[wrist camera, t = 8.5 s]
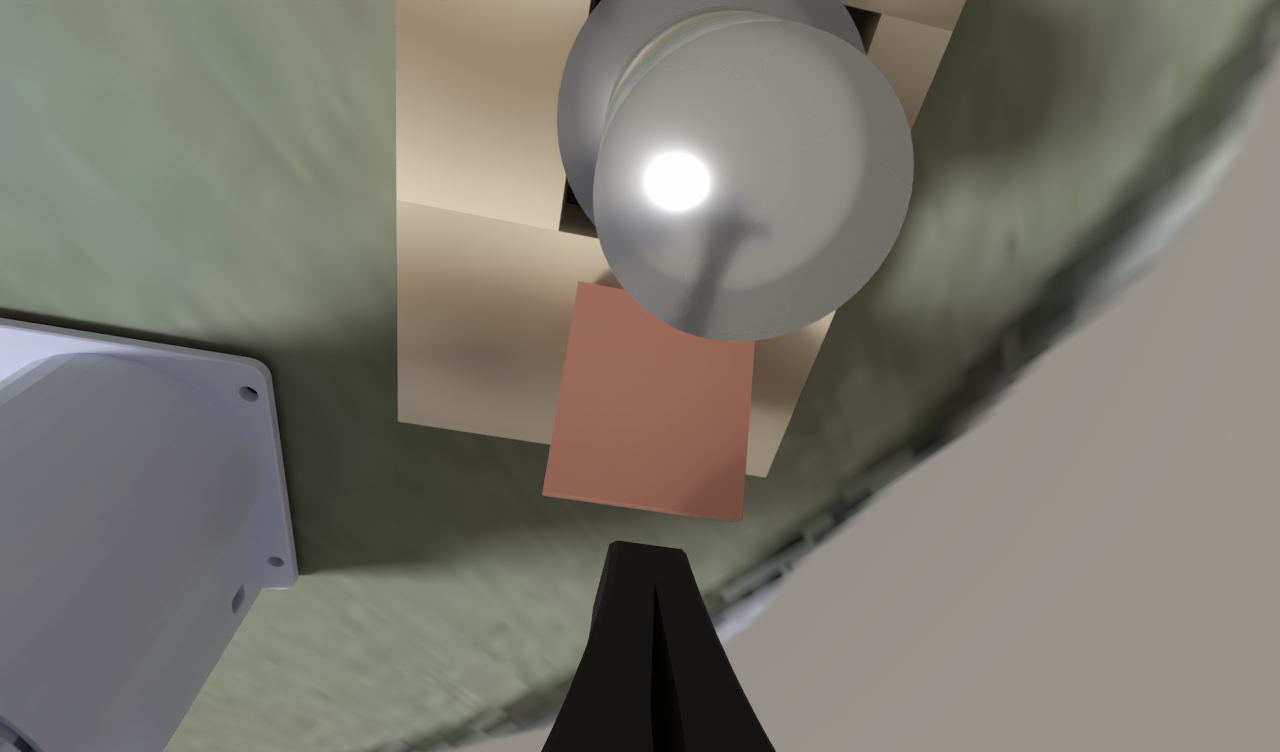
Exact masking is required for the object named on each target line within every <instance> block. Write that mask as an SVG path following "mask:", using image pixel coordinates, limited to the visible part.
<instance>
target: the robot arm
mask: <svg viewBox="0 0 1280 752" xmlns="http://www.w3.org/2000/svg"><path fill="white" fill-rule="evenodd" d="M247 387H250V388H253V389H254V390H255V391H256V392H257V394H255V393H252V392H251V391H250V390H248V388H247ZM297 579H298V567H297V560H296V553H295V545H294V538H293V530H292V523H291V516H290V508H289V501H288V494H287V486H286V479H285V472H284V464H283V457H282V450H281V442H280V435H279V428H278V420H277V413H276V406H275V398H274V391H273V384H272V376H271V373H270V371H269V369H268V368H267V367H266V366H265V364H263V363H262V362H260V361H259V360H256V359H253V358H249V357H243V356H237V355H230V354H224V353H218V352H212V351H205V350H199V349H193V348H186V347H180V346H174V345H168V344H161V343H155V342H149V341H143V340H136V339H130V338H124V337H118V336H111V335H105V334H99V333H93V332H86V331H80V330H74V329H67V328H61V327H55V326H49V325H42V324H36V323H30V322H24V321H17V320H11V319H5V318H0V752H162V751H163V750H164V749H165V747H166V745H167V744H168V742H169V741H170V739H171V738H172V736H173V734H174V733H175V731H176V729H177V728H178V726H179V724H180V723H181V721H182V719H183V718H184V716H185V714H186V713H187V711H188V710H189V708H190V706H191V705H192V703H193V701H194V700H195V698H196V696H197V695H198V693H199V691H200V690H201V688H202V687H203V685H204V683H205V682H206V680H207V678H208V677H209V675H210V673H211V672H212V670H213V668H214V667H215V665H216V663H217V662H218V660H219V659H220V657H221V655H222V654H223V652H224V650H225V649H226V647H227V645H228V644H229V642H230V640H231V639H232V637H233V636H234V634H235V632H236V631H237V629H238V627H239V626H240V624H241V622H242V621H243V619H244V617H245V616H246V614H247V612H248V611H249V609H250V608H251V606H252V604H253V603H254V601H255V599H256V598H257V596H258V594H259V593H260V591H261V589H262V588H263V587H264V588H272V589H289V588H291V587H292V586H294V584H295V582H296V581H297ZM541 752H776V751H775V749H774V747H773V746H772V744H771V742H770V741H769V739H768V737H767V735H766V733H765V731H764V730H763V728H762V726H761V724H760V722H759V720H758V719H757V717H756V715H755V713H754V711H753V709H752V707H751V705H750V703H749V701H748V699H747V697H746V695H745V693H744V692H743V690H742V687H741V685H740V683H739V681H738V679H737V677H736V675H735V673H734V671H733V669H732V667H731V665H730V662H729V661H728V658H727V656H726V654H725V651H724V649H723V647H722V645H721V643H720V640H719V638H718V636H717V634H716V631H715V629H714V627H713V624H712V622H711V620H710V617H709V615H708V612H707V610H706V607H705V605H704V602H703V600H702V597H701V595H700V592H699V589H698V587H697V584H696V581H695V579H694V576H693V573H692V570H691V567H690V564H689V561H688V558H687V555H686V553H685V552H684V551H683V550H682V549H675V548H668V547H661V546H653V545H646V544H639V543H631V542H624V541H615V542H613V543H611V544H609V548H608V552H607V556H606V560H605V564H604V568H603V571H602V575H601V579H600V583H599V587H598V591H597V595H596V598H595V602H594V606H593V614H592V621H591V628H590V634H589V640H588V643H587V646H586V649H585V652H584V654H583V657H582V659H581V662H580V664H579V667H578V669H577V672H576V674H575V677H574V679H573V682H572V684H571V687H570V689H569V692H568V694H567V696H566V699H565V701H564V703H563V706H562V708H561V710H560V712H559V715H558V717H557V719H556V721H555V724H554V726H553V728H552V730H551V732H550V734H549V736H548V738H547V741H546V743H545V745H544V747H543V749H542V751H541Z"/></svg>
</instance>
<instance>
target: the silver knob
mask: <svg viewBox="0 0 1280 752" xmlns="http://www.w3.org/2000/svg"><path fill="white" fill-rule="evenodd" d="M557 133H558V144H559V149H560V154H561V160H562V164H563V167H564V170H565V173H566V176H567V179H568V182H569V185H570V187H571V189H572V191H573V193H574V195H575V197H576V199H577V201H578V203H579V204H580V206H581V207H582V209H583V211H584V212H585V214H586V215H587V217H588V218H589V219H590V220H591V222H592V223H593V224H594V225H595V226H596V230H597V235H598V238H599V241H600V245H601V248H602V251H603V254H604V256H605V258H606V260H607V262H608V264H609V266H610V268H611V270H612V272H613V273H614V275H615V276H616V278H617V280H618V281H619V283H620V284H621V286H622V287H623V288H624V289H625V290H626V291H627V293H628V294H629V295H630V296H631V297H632V298H633V299H634V300H635V301H636V302H637V303H638V304H639V305H640V306H641V307H642V308H644V309H645V310H646V311H647V312H648V313H650V314H651V315H653V316H654V317H656V318H657V319H659V320H660V321H662V322H664V323H666V324H668V325H670V326H671V327H673V328H675V329H677V330H680V331H683V332H686V333H688V334H691V335H694V336H698V337H703V338H707V339H711V340H720V341H754V340H763V339H768V338H773V337H777V336H781V335H785V334H788V333H791V332H793V331H796V330H799V329H802V328H804V327H806V326H808V325H810V324H812V323H814V322H816V321H819V320H820V319H822V318H823V317H825V316H827V315H828V314H830V313H832V312H833V311H835V310H836V309H838V308H839V307H840V306H841V305H843V304H844V303H845V302H847V301H848V300H849V299H850V298H852V297H853V296H854V295H855V294H856V293H857V292H858V291H859V290H860V289H861V288H862V287H863V286H864V285H865V284H866V283H867V282H868V281H869V279H870V278H871V277H872V276H873V275H874V273H875V272H876V271H877V270H878V269H879V267H880V266H881V264H882V263H883V261H884V260H885V258H886V257H887V255H888V254H889V252H890V250H891V248H892V247H893V245H894V243H895V241H896V239H897V237H898V235H899V233H900V230H901V227H902V225H903V222H904V219H905V217H906V214H907V210H908V206H909V202H910V197H911V193H912V185H913V175H914V156H913V145H912V139H911V133H910V128H909V125H908V122H907V119H906V115H905V112H904V109H903V107H902V105H901V103H900V101H899V99H898V97H897V95H896V93H895V91H894V89H893V87H892V86H891V85H890V83H889V82H888V80H887V79H886V78H885V76H884V75H883V73H882V72H881V71H880V70H879V69H878V68H877V67H876V66H875V65H874V64H873V63H872V62H871V61H870V60H869V58H868V57H867V56H866V52H865V49H864V46H863V43H862V40H861V37H860V34H859V32H858V30H857V28H856V26H855V24H854V22H853V20H852V18H851V16H850V14H849V12H848V10H847V9H846V8H845V6H844V5H843V3H842V2H841V0H601V1H600V3H599V4H598V5H597V6H596V7H595V9H594V10H593V11H592V12H591V14H590V15H589V17H588V19H587V20H586V22H585V23H584V25H583V27H582V28H581V30H580V31H579V33H578V35H577V38H576V40H575V42H574V44H573V46H572V48H571V51H570V53H569V55H568V59H567V62H566V65H565V68H564V71H563V75H562V79H561V84H560V90H559V95H558V106H557Z"/></svg>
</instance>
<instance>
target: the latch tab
mask: <svg viewBox="0 0 1280 752" xmlns="http://www.w3.org/2000/svg"><path fill="white" fill-rule="evenodd" d="M754 346H755V340H754V341H720V340H711V339H707V338H703V337H698V336H694V335H691V334H688V333H686V332H683V331H680V330H677V329H675V328H673V327H671V326H670V325H668V324H666V323H664V322H662V321H660V320H659V319H657V318H656V317H654V316H653V315H651V314H650V313H648V312H647V311H646V310H645V309H644V308H642V307H641V306H640V305H639V304H638V303H637V302H636V301H635V300H634V299H633V298H632V297H631V296H630V295H629V294H628V293H627V291H626V290H624V289H618V288H613V287H607V286H602V285H597V284H591V283H586V282H580V281H578V286H577V292H576V298H575V304H574V310H573V315H572V321H571V327H570V333H569V339H568V345H567V351H566V357H565V363H564V368H563V374H562V380H561V386H560V392H559V398H558V404H557V410H556V415H555V421H554V427H553V433H552V439H551V445H550V451H549V457H548V463H547V468H546V474H545V480H544V486H543V492H542V496H549V497H556V498H564V499H571V500H578V501H585V502H592V503H599V504H606V505H613V506H620V507H627V508H634V509H641V510H648V511H655V512H662V513H669V514H676V515H683V516H690V517H697V518H704V519H711V520H718V521H725V522H734V521H739V520H742V518H743V503H744V489H745V475H746V461H747V446H748V432H749V418H750V404H751V389H752V375H753V361H754Z"/></svg>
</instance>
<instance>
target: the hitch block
mask: <svg viewBox="0 0 1280 752" xmlns="http://www.w3.org/2000/svg"><path fill="white" fill-rule="evenodd" d="M595 2H596V0H396V172H397V352H398V422H404V423H411V424H417V425H424V426H430V427H437V428H443V429H450V430H457V431H463V432H470V433H476V434H483V435H489V436H496V437H503V438H509V439H516V440H522V441H529V442H536V443H542V444H549V445H551V439H552V433H553V427H554V421H555V415H556V410H557V404H558V398H559V392H560V386H561V380H562V374H563V368H564V363H565V357H566V351H567V345H568V339H569V333H570V327H571V321H572V315H573V310H574V304H575V298H576V292H577V286H578V281H580V282H586V283H591V284H597V285H602V286H607V287H613V288H618V289H624V288H623V287H622V286H621V284H620V283H619V281H618V280H617V278H616V276H615V275H614V273H613V272H612V270H611V268H610V266H609V264H608V262H607V260H606V258H605V256H604V254H603V251H602V248H601V245H600V241H599V238H598V235H597V230H596V226H595V225H594V224H593V223H592V222H591V220H590V219H589V218H588V217H587V215H586V214H585V212H584V211H583V209H582V207H581V206H580V205H575V204H570V203H567V197H568V190H569V182H568V179H567V176H566V173H565V170H564V167H563V164H562V160H561V154H560V149H559V144H558V133H557V106H558V95H559V90H560V84H561V79H562V75H563V71H564V68H565V65H566V62H567V59H568V55H569V53H570V51H571V48H572V46H573V44H574V42H575V40H576V38H577V35H578V33H579V31H580V30H581V28H582V27H583V25H584V23H585V22H586V20H587V19H588V17H589V15H590V14H591V12H592V11H593V10H594V9H595ZM841 2H842V3H843V5H844V6H845V8H846V9H849V14H850V16H851V18H852V20H853V22H854V24H855V26H856V28H857V30H858V32H859V34H860V37H861V40H862V43H863V46H864V49H865V52H866V56H867V57H868V58H869V60H870V61H871V62H872V63H873V64H874V65H875V66H876V67H877V68H878V69H879V70H880V71H881V72H882V73H883V75H884V76H885V78H886V79H887V80H888V82H889V83H890V85H891V86H892V87H893V89H894V91H895V93H896V95H897V97H898V99H899V101H900V103H901V105H902V107H903V109H904V112H905V115H906V119H907V122H908V125H909V128H910V133H911V130H912V128H913V126H914V123H915V121H916V119H917V116H918V114H919V111H920V109H921V107H922V104H923V102H924V99H925V97H926V95H927V92H928V90H929V88H930V85H931V83H932V80H933V78H934V76H935V73H936V71H937V68H938V66H939V64H940V61H941V59H942V57H943V54H944V52H945V49H946V47H947V45H948V42H949V40H950V37H951V35H952V33H953V30H954V28H955V26H956V23H957V21H958V18H959V16H960V14H961V11H962V9H963V7H964V4H965V2H966V0H841ZM624 290H625V289H624ZM835 312H836V310H835V311H833V312H832V313H830V314H828V315H827V316H825V317H823V318H822V319H820V320H819V321H816V322H814V323H812V324H810V325H808V326H806V327H804V328H802V329H799V330H796V331H793V332H791V333H788V334H785V335H781V336H777V337H773V338H768V339H763V340H755V346H754V361H753V375H752V389H751V404H750V418H749V432H748V446H747V461H746V475H752V476H759V477H766V476H767V474H768V471H769V469H770V467H771V464H772V462H773V459H774V457H775V455H776V452H777V450H778V448H779V445H780V443H781V440H782V438H783V436H784V433H785V431H786V428H787V426H788V424H789V421H790V419H791V417H792V414H793V412H794V409H795V407H796V405H797V402H798V400H799V397H800V395H801V393H802V390H803V388H804V386H805V383H806V381H807V378H808V376H809V374H810V371H811V369H812V366H813V364H814V362H815V359H816V357H817V355H818V352H819V350H820V347H821V345H822V343H823V340H824V338H825V335H826V333H827V331H828V328H829V326H830V324H831V321H832V319H833V316H834V314H835Z"/></svg>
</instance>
